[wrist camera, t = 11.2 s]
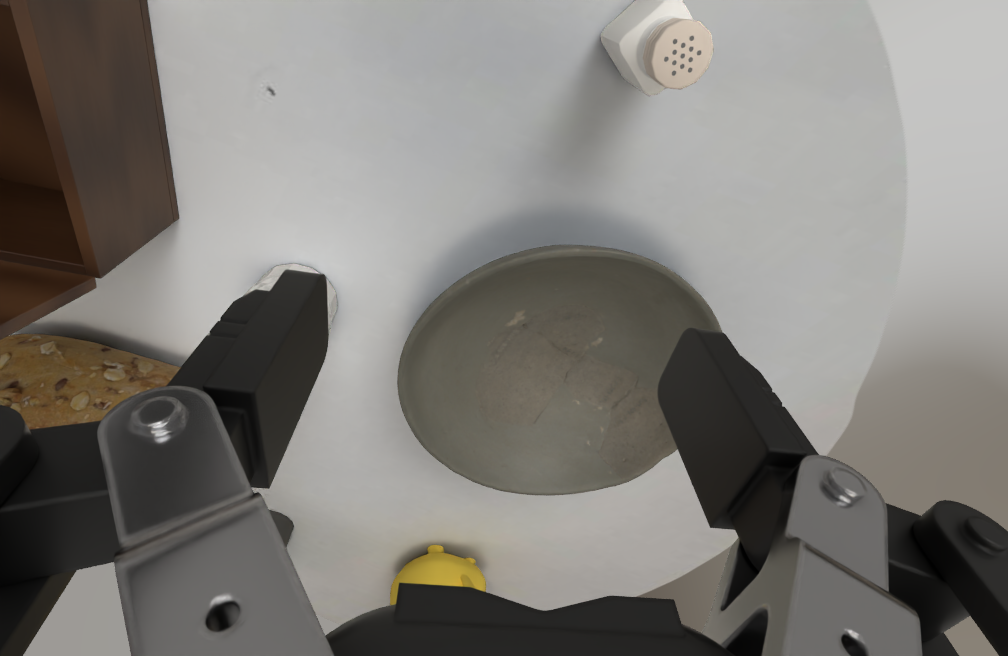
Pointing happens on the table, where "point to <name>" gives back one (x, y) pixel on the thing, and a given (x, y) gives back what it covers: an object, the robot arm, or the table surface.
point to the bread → (71, 378)
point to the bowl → (549, 369)
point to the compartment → (80, 135)
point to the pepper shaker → (658, 45)
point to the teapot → (439, 572)
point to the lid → (35, 293)
